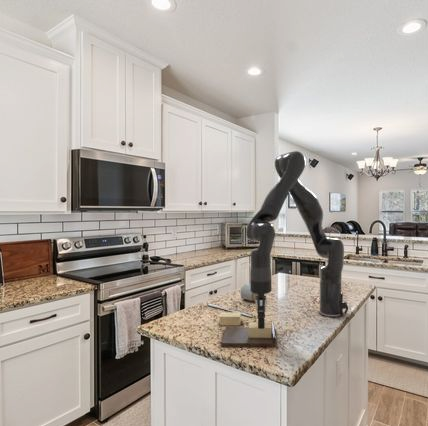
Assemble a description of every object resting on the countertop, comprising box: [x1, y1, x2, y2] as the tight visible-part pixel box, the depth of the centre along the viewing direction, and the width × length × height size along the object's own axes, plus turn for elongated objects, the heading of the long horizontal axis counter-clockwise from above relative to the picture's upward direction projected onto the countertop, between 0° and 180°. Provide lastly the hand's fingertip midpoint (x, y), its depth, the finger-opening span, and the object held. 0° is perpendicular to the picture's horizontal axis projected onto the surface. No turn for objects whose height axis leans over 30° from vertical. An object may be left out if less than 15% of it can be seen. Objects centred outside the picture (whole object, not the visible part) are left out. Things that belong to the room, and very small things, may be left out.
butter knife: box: [206, 303, 253, 317], centre depth 136 cm, size 1×27×3 cm
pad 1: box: [219, 311, 242, 327], centre depth 121 cm, size 8×5×4 cm, turn 89°
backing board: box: [220, 321, 276, 348], centre depth 107 cm, size 18×14×3 cm
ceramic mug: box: [240, 283, 258, 303], centre depth 153 cm, size 11×8×8 cm
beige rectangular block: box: [248, 321, 272, 338], centre depth 107 cm, size 8×5×4 cm, turn 89°
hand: (261, 323), depth 107 cm, fingers open, 8 cm apart
